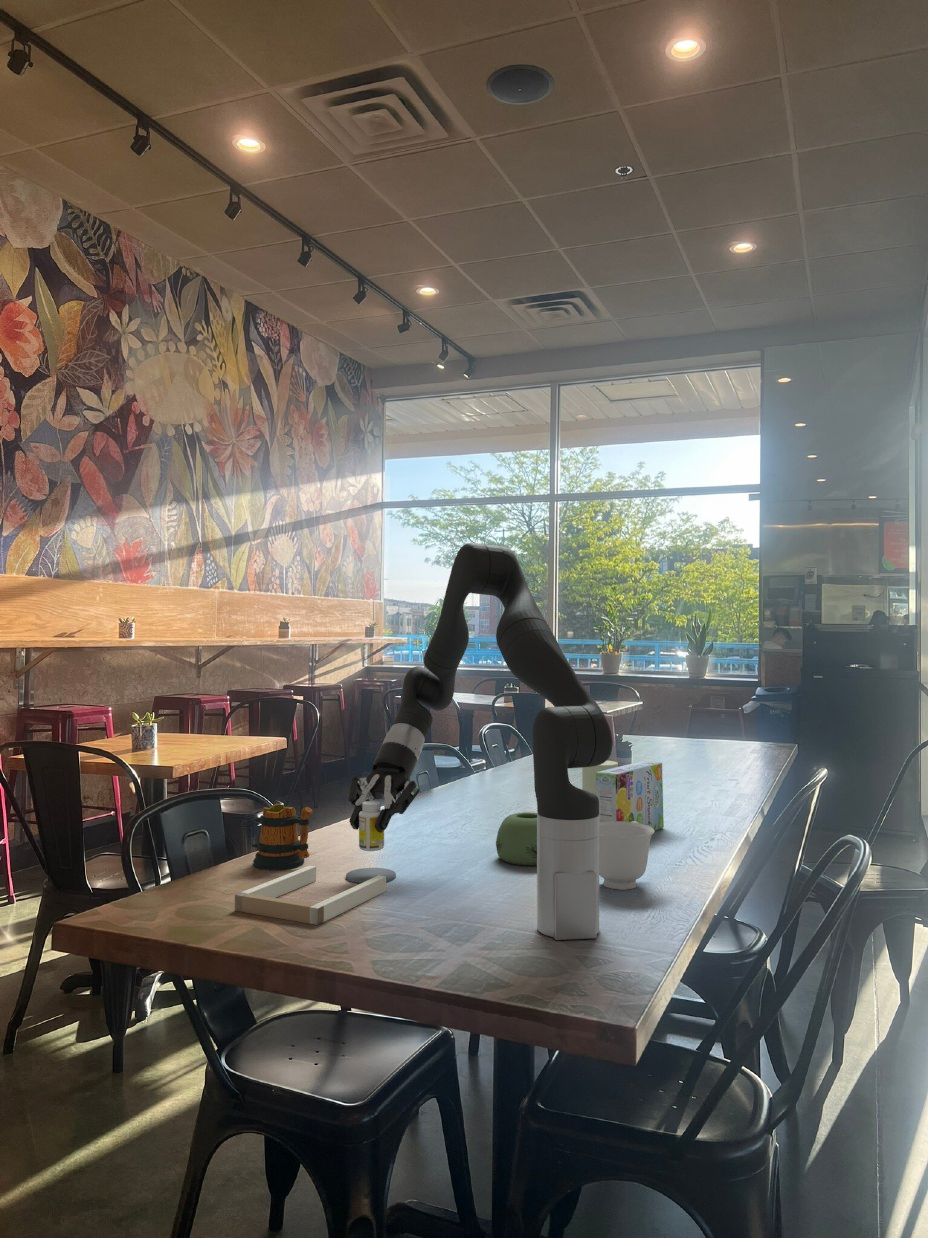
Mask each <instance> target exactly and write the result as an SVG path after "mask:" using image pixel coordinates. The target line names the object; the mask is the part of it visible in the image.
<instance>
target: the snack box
mask: <svg viewBox="0 0 928 1238" xmlns="http://www.w3.org/2000/svg"><path fill="white" fill-rule="evenodd" d="M663 788H664V787H663V763H662V762H660V761H650V760H641V761H638V762H633V763H629V764H625V765H621V766H618V767H616V768H612V769H608V770H604V771H599V772H596V796H597V797H598V799H599V822H607V821H621V822H633V821H635V822H638V823H639V824H644V825H647V826H650V827H652V828H653V829H654V831H655V832H656V831H658V830H661V829H663V828H665V825H664V824H665V823H664V822H665V821H664V791H663V790H664V789H663Z"/></svg>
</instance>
